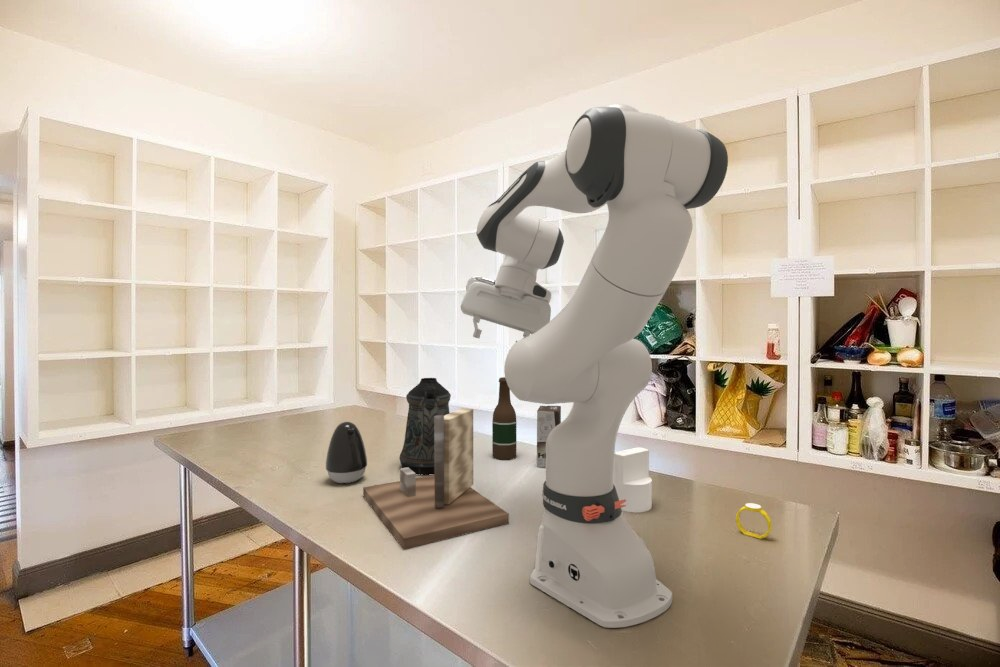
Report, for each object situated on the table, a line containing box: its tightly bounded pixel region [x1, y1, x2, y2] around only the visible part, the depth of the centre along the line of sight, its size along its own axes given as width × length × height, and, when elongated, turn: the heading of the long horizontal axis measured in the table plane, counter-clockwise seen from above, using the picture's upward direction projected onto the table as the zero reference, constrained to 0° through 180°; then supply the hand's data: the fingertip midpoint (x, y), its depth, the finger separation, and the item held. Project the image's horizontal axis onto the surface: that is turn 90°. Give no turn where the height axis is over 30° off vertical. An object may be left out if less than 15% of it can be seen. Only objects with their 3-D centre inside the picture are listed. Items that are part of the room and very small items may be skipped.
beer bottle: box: [491, 376, 517, 461], centre depth 143 cm, size 8×8×24 cm
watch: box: [735, 502, 773, 540], centre depth 91 cm, size 6×3×6 cm, turn 49°
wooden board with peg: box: [362, 467, 510, 550], centre depth 104 cm, size 30×22×7 cm
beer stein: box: [399, 377, 452, 476], centre depth 132 cm, size 16×19×25 cm
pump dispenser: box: [325, 421, 368, 484], centre depth 122 cm, size 10×10×15 cm
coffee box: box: [536, 405, 562, 468], centre depth 136 cm, size 9×6×16 cm
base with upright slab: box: [613, 446, 653, 513], centre depth 106 cm, size 9×9×12 cm
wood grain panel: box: [434, 407, 474, 508], centre depth 105 cm, size 16×3×19 cm, turn 160°
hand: (496, 343), depth 105 cm, fingers open, 8 cm apart
